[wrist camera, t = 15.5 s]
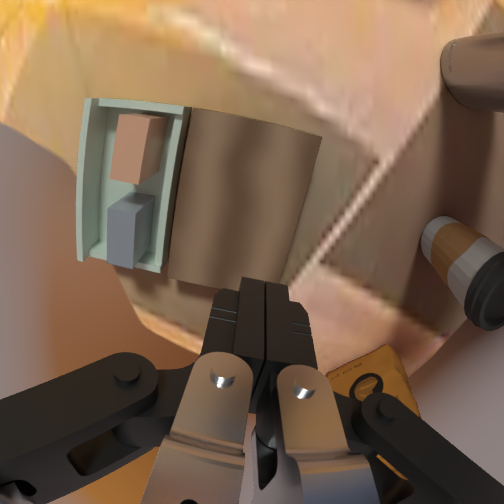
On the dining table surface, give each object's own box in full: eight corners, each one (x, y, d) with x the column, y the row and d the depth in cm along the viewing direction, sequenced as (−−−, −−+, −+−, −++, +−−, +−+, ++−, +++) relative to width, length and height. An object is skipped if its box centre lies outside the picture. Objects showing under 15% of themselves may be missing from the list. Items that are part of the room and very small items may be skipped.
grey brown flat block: (314, 134, 29) (322, 137, 26) (271, 281, 37) (273, 299, 33) (200, 108, 28) (193, 108, 25) (175, 260, 36) (167, 277, 32)
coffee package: (317, 366, 44) (340, 496, 24) (391, 333, 41) (445, 456, 21) (337, 396, 48) (358, 507, 28) (401, 368, 45) (443, 474, 25)
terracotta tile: (150, 118, 23) (119, 114, 22) (138, 184, 25) (109, 178, 25) (169, 117, 28) (143, 112, 28) (158, 171, 31) (133, 166, 30)
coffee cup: (428, 276, 37) (483, 347, 23) (401, 236, 34) (465, 306, 21) (469, 238, 34) (535, 295, 20) (447, 194, 31) (525, 244, 18)
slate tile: (135, 213, 26) (107, 208, 26) (132, 269, 29) (106, 263, 29) (155, 195, 32) (130, 191, 31) (150, 244, 34) (127, 239, 34)
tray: (191, 107, 28) (179, 106, 24) (167, 259, 36) (156, 280, 31) (107, 98, 27) (85, 98, 23) (95, 242, 35) (77, 260, 31)
